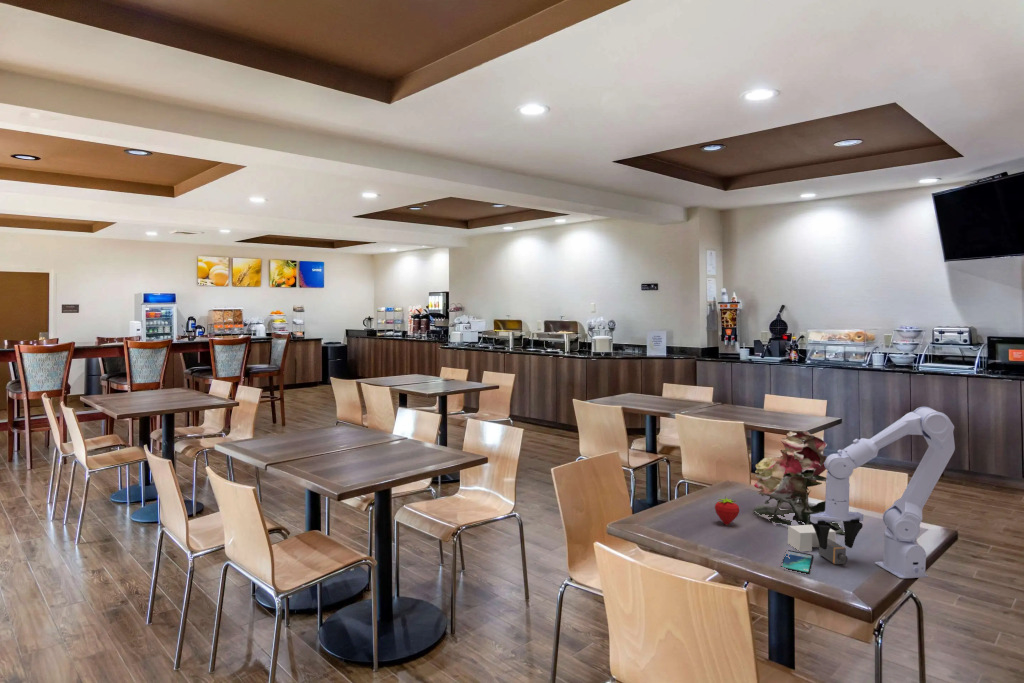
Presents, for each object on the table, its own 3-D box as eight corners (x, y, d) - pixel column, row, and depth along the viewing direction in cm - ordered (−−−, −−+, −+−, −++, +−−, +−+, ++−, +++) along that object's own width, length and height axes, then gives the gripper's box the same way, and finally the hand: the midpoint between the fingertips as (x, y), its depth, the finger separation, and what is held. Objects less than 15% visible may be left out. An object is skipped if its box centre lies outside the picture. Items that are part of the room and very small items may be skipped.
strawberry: (737, 529, 191) (738, 498, 190) (712, 525, 194) (713, 495, 194) (740, 524, 196) (741, 493, 196) (715, 520, 200) (716, 490, 199)
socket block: (835, 550, 175) (835, 531, 175) (799, 551, 174) (800, 533, 174) (822, 542, 181) (822, 524, 181) (787, 543, 180) (788, 525, 179)
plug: (849, 566, 163) (850, 550, 163) (838, 566, 163) (839, 551, 163) (828, 553, 172) (829, 538, 172) (818, 554, 172) (819, 539, 171)
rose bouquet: (811, 505, 216) (814, 421, 214) (857, 536, 186) (861, 439, 185) (739, 504, 216) (741, 421, 214) (773, 535, 187) (776, 438, 185)
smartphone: (813, 554, 171) (809, 573, 158) (813, 557, 171) (809, 576, 158) (786, 549, 175) (779, 567, 162) (786, 551, 175) (779, 570, 162)
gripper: (851, 493, 171) (850, 540, 172) (803, 495, 169) (802, 542, 170) (869, 500, 164) (867, 550, 165) (819, 503, 162) (818, 552, 163)
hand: (835, 547), depth 167 cm, fingers open, 7 cm apart
